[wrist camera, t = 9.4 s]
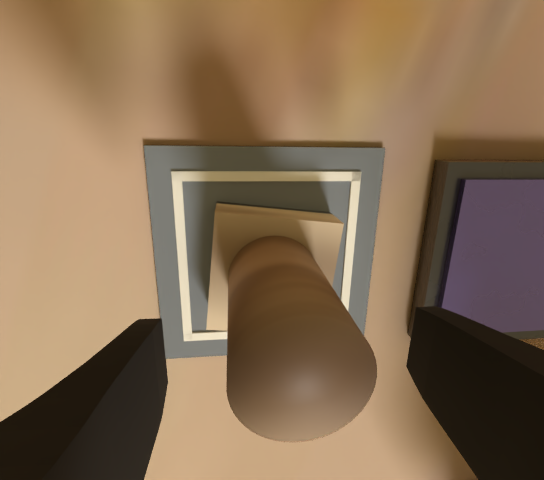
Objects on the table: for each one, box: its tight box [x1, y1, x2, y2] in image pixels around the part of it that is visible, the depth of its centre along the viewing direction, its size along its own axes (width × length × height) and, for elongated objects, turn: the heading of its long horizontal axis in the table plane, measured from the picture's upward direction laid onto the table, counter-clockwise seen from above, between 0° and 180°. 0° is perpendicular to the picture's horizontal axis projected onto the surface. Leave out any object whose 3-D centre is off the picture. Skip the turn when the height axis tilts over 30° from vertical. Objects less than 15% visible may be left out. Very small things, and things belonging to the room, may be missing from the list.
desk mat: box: [144, 145, 385, 359], centre depth 16 cm, size 10×10×1 cm
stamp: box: [206, 201, 377, 442], centre depth 12 cm, size 5×5×8 cm
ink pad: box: [408, 160, 544, 340], centre depth 17 cm, size 9×9×1 cm
